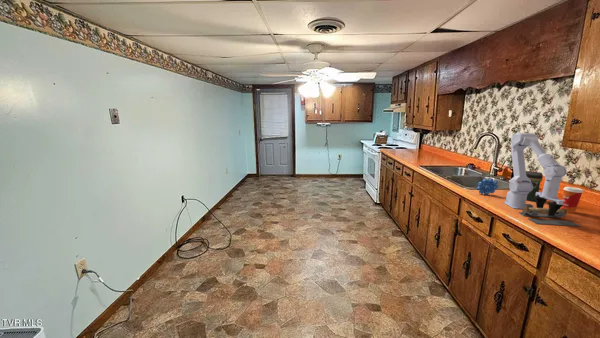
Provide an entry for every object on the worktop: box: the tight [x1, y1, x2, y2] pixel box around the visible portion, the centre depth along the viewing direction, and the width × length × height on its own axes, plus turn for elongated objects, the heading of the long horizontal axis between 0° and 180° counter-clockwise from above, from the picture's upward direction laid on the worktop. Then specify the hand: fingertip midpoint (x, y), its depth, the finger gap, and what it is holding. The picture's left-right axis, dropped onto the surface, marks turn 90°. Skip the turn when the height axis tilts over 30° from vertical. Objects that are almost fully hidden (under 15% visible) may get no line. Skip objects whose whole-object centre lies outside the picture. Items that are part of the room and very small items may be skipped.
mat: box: [527, 218, 582, 228], centre depth 127 cm, size 6×20×1 cm, turn 82°
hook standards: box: [518, 203, 567, 219], centre depth 133 cm, size 7×18×6 cm, turn 82°
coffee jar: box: [526, 170, 544, 202], centre depth 160 cm, size 10×8×19 cm
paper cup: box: [560, 186, 584, 214], centre depth 140 cm, size 8×8×14 cm
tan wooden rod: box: [523, 207, 568, 215], centre depth 132 cm, size 19×3×3 cm, turn 82°
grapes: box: [475, 177, 499, 196], centre depth 169 cm, size 12×7×12 cm, turn 56°
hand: (545, 212), depth 132 cm, fingers open, 7 cm apart
